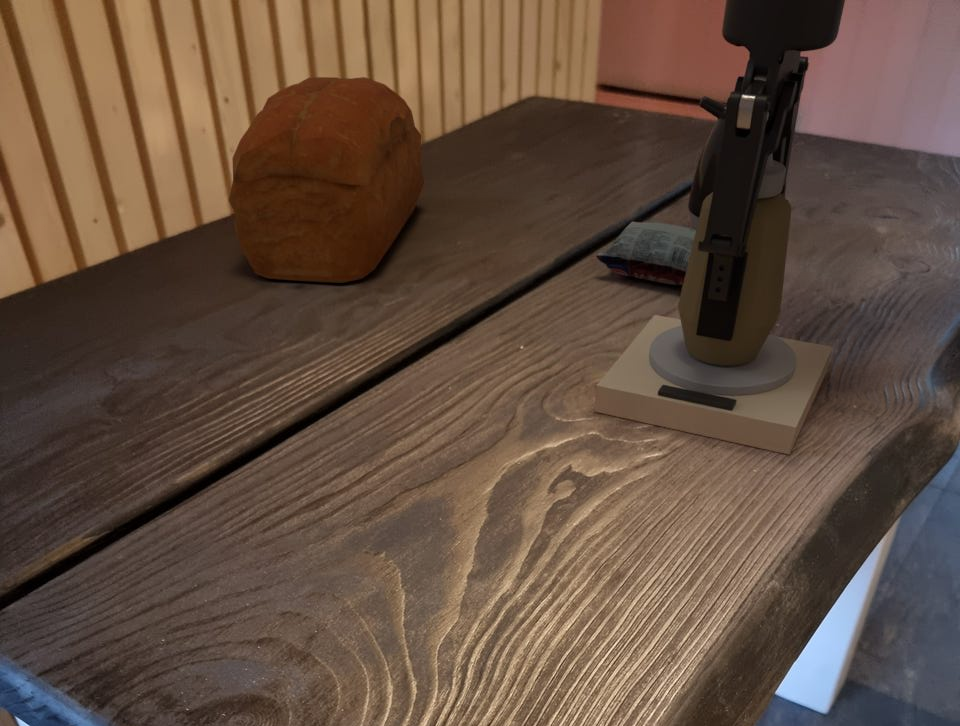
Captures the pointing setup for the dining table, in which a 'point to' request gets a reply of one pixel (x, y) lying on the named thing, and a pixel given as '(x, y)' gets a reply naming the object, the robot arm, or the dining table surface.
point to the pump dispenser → (708, 159)
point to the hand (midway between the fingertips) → (728, 314)
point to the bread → (325, 179)
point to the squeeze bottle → (759, 278)
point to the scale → (715, 388)
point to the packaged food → (651, 252)
